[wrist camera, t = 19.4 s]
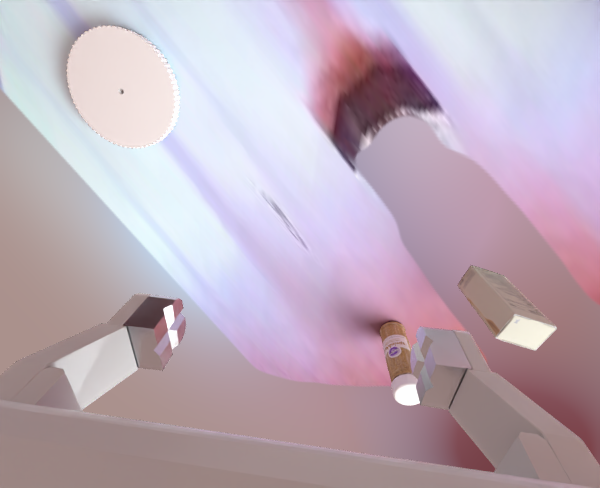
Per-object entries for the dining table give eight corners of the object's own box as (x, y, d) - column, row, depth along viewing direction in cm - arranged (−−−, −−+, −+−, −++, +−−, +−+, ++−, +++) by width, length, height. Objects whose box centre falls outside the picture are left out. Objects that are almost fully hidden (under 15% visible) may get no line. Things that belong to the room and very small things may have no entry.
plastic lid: (204, 93, 41) (196, 93, 39) (147, 165, 46) (137, 169, 43) (114, 0, 37) (100, -6, 35) (62, 90, 42) (47, 89, 40)
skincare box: (455, 285, 50) (492, 338, 39) (470, 263, 48) (512, 313, 37) (491, 297, 51) (536, 352, 40) (507, 276, 49) (559, 328, 38)
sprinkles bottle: (392, 316, 54) (411, 379, 42) (410, 330, 55) (434, 396, 43) (373, 330, 56) (386, 396, 44) (391, 344, 57) (408, 411, 45)
